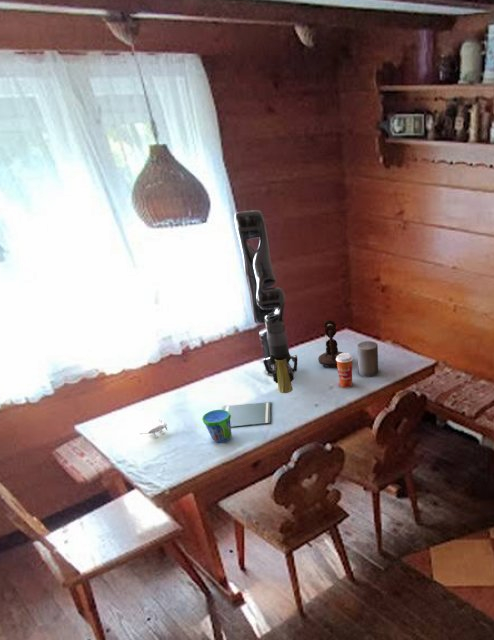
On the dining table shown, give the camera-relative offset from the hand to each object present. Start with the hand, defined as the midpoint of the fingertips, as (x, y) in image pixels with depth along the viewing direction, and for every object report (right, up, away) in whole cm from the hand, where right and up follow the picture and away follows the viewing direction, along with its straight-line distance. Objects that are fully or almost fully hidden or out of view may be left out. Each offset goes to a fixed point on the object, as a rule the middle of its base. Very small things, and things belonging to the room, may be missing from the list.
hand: (284, 381), depth 211 cm
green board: (-17, -13, +7) cm, 23 cm away
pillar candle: (+34, +14, +36) cm, 52 cm away
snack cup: (-24, -25, -6) cm, 35 cm away
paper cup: (+24, +5, +27) cm, 36 cm away
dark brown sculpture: (+16, +22, +46) cm, 53 cm away
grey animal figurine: (-51, -23, -4) cm, 57 cm away
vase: (0, -3, +3) cm, 4 cm away
